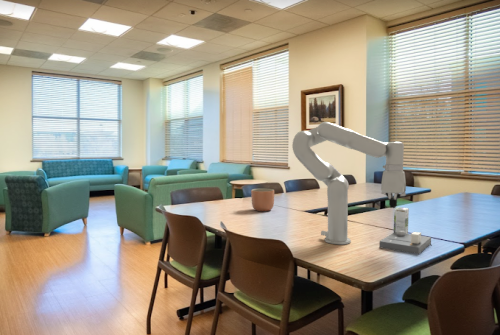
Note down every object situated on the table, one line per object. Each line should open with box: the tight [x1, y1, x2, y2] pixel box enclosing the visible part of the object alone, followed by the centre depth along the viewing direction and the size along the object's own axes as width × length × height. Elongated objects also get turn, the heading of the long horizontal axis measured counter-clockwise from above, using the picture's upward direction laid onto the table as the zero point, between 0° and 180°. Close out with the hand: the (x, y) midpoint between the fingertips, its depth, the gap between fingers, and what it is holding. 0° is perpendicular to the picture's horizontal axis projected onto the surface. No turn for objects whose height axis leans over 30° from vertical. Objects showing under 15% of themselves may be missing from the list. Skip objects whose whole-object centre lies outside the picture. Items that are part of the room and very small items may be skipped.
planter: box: [250, 188, 275, 212], centre depth 265 cm, size 17×17×15 cm
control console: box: [379, 231, 432, 255], centre depth 169 cm, size 17×22×5 cm
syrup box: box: [393, 206, 410, 234], centre depth 188 cm, size 6×6×14 cm
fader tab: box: [410, 231, 422, 244], centre depth 162 cm, size 3×5×4 cm, turn 141°
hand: (392, 207), depth 168 cm, fingers closed
